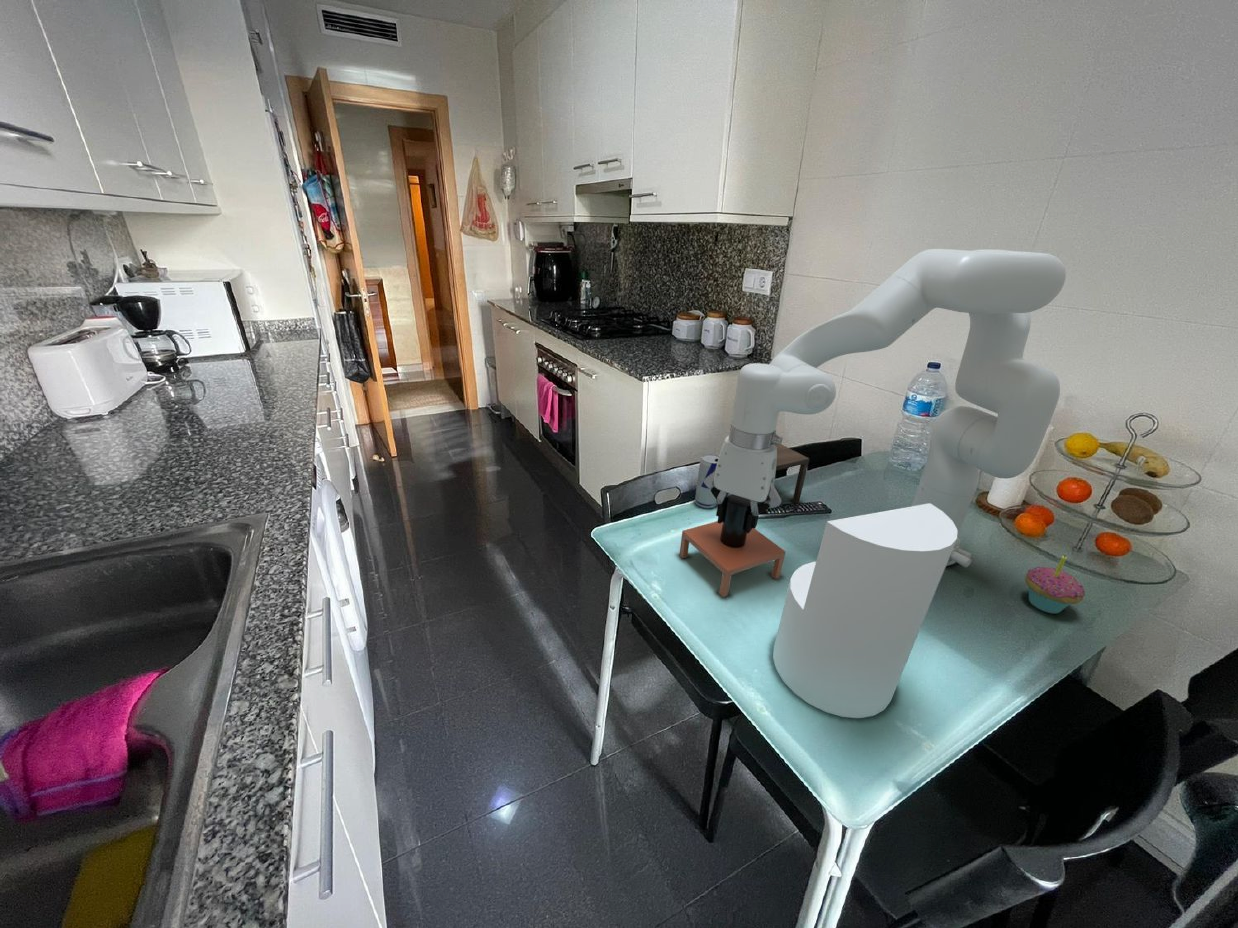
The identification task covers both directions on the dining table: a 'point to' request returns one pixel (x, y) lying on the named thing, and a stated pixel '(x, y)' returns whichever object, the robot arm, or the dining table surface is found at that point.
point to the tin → (735, 521)
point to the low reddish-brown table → (732, 551)
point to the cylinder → (861, 608)
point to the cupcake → (1053, 588)
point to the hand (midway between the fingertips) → (735, 524)
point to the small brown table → (792, 459)
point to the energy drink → (702, 491)
